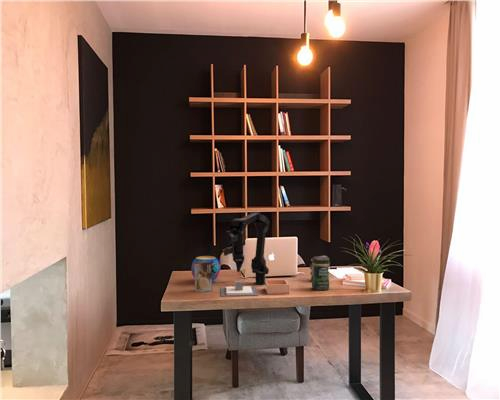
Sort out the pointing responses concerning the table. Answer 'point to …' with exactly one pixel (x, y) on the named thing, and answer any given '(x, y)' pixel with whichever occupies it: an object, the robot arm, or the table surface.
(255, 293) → the mat
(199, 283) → the coffee box
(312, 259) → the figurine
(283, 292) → the open box
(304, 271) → the table surface
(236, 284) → the lid
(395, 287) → the table surface
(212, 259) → the ceramic pot
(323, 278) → the coffee jar
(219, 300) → the table surface
